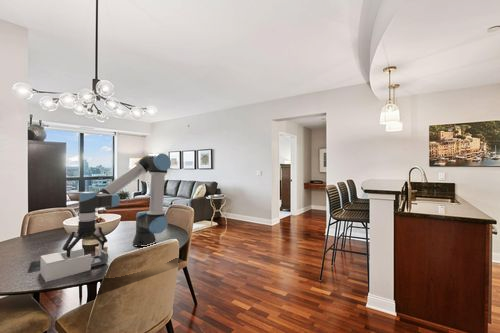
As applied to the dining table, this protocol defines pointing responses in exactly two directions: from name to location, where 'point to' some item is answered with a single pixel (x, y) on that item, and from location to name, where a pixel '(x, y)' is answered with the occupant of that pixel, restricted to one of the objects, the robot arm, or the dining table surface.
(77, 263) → the white drawer housing
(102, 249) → the oak block
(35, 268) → the smartphone
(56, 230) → the dining table surface
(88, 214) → the robot arm
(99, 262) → the tray
